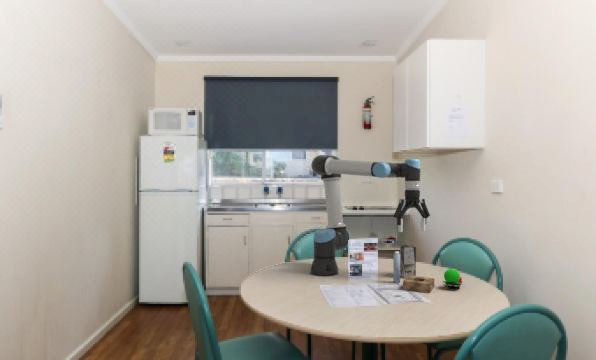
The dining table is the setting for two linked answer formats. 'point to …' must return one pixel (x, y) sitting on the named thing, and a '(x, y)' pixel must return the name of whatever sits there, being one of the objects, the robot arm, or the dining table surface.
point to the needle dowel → (396, 267)
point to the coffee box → (407, 260)
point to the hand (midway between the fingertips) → (411, 231)
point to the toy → (452, 278)
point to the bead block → (418, 284)
